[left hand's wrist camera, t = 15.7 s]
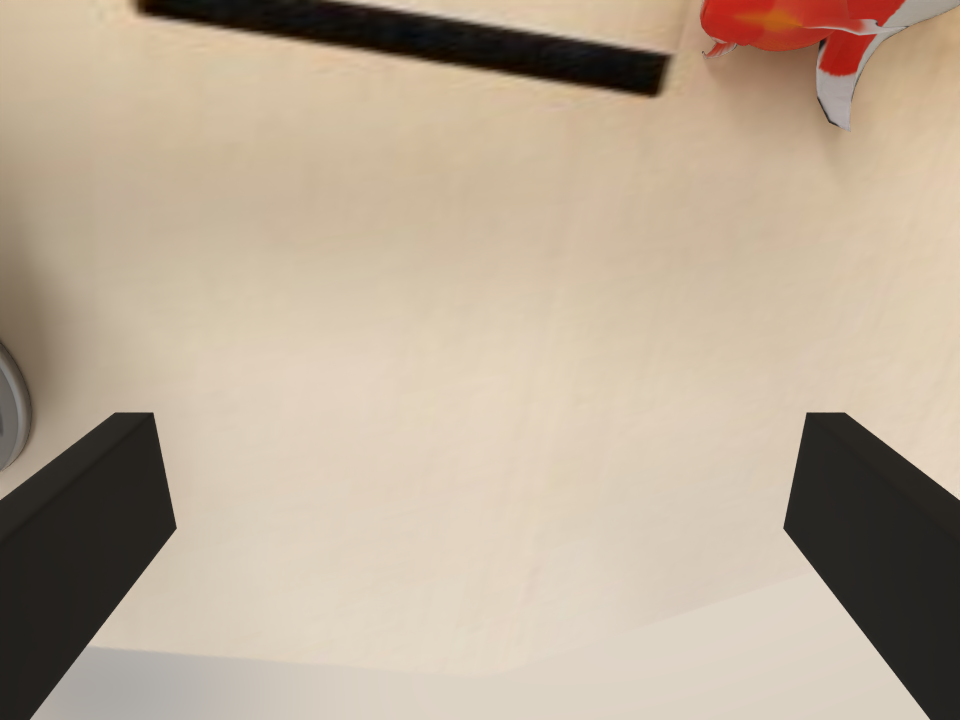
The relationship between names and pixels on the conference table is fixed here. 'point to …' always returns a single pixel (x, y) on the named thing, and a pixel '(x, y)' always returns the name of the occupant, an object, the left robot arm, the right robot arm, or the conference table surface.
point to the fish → (817, 35)
